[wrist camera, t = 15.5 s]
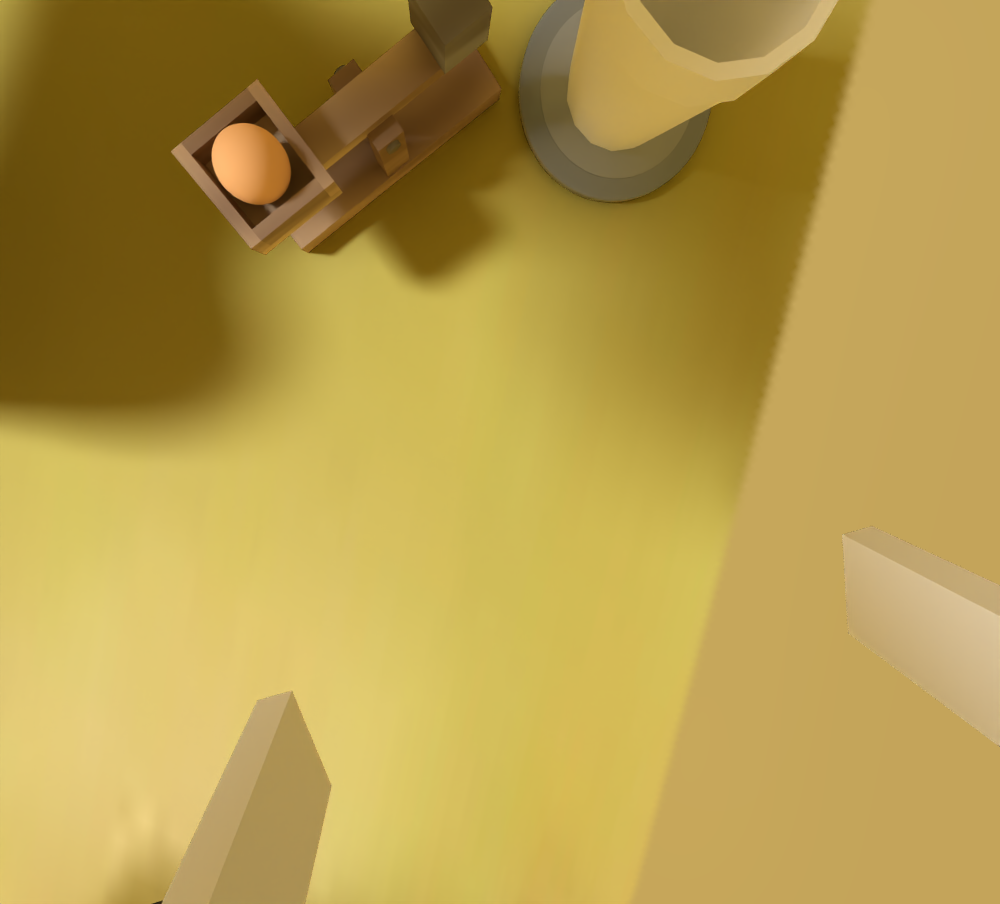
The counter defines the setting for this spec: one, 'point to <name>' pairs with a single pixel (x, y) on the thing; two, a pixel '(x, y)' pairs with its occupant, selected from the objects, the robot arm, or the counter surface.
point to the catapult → (357, 127)
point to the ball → (251, 163)
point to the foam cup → (677, 60)
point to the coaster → (562, 141)
